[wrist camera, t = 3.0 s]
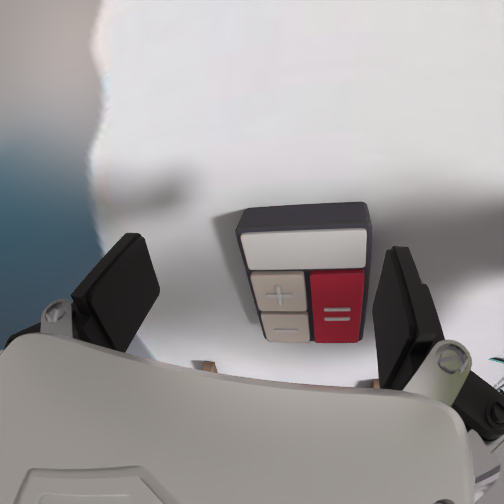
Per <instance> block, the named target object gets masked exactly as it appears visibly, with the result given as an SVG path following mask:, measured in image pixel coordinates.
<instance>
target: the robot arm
mask: <svg viewBox="0 0 504 504" xmlns="http://www.w3.org/2000/svg"><path fill="white" fill-rule="evenodd" d="M159 293H160V287H159V284H158V281H157V277H156V274H155V271H154V268H153V265H152V262H151V259H150V255H149V252H148V249H147V245H146V242H145V239H144V238H143V237H142V236H141V235H140V234H139V233H126V234H125V235H124V236H123V237H122V238H121V239H120V240H119V241H118V242H117V243H116V244H115V245H114V246H113V247H112V248H111V249H110V251H109V252H108V253H107V254H106V255H105V256H104V257H103V258H102V259H101V261H100V262H99V263H98V264H97V265H96V266H95V267H94V268H93V270H92V271H91V272H90V273H89V274H88V275H87V277H86V278H85V279H84V280H83V281H82V282H81V283H80V285H79V286H78V287H77V288H76V289H75V291H74V292H73V293H72V294H71V297H72V299H73V301H74V302H73V303H72V304H71V303H70V302H69V300H66V299H60V300H56V301H54V302H52V303H51V304H50V305H48V306H47V307H46V309H45V310H44V312H43V313H42V317H41V322H40V323H38V324H36V325H33V326H31V327H29V328H27V329H25V330H22V331H20V332H18V333H16V334H13V335H12V336H11V337H10V338H9V339H8V341H7V343H6V345H5V349H4V351H3V350H1V351H0V504H504V395H502V394H501V393H500V392H498V391H497V390H496V389H495V388H493V387H492V386H491V385H489V384H488V383H487V382H485V381H484V380H483V379H482V378H480V377H479V376H478V375H476V374H475V373H474V372H472V371H471V370H470V369H471V366H472V359H471V356H470V353H469V352H468V350H467V349H466V348H465V347H464V346H463V345H462V344H461V343H459V342H456V341H454V340H445V338H444V335H443V331H442V328H441V325H440V321H439V318H438V315H437V312H436V309H435V306H434V303H433V300H432V297H431V294H430V291H429V288H428V286H427V285H426V284H422V283H421V280H420V277H419V274H418V271H417V269H416V266H415V263H414V261H413V258H412V256H411V253H410V251H409V248H408V247H399V246H393V247H392V249H391V250H387V251H386V255H385V260H384V264H383V268H382V273H381V277H380V281H379V285H378V289H377V292H376V296H375V300H374V304H373V321H374V330H375V339H376V349H377V360H378V373H379V387H380V389H376V388H358V387H337V386H323V385H310V384H297V383H287V382H277V381H268V380H260V379H253V378H246V377H239V376H232V375H226V374H220V373H214V372H208V371H203V370H197V369H192V368H187V367H182V366H177V365H173V364H168V363H164V362H159V361H155V360H151V359H147V358H142V357H138V356H134V355H131V354H127V353H125V352H126V350H127V348H128V347H129V345H130V343H131V341H132V340H133V338H134V336H135V334H136V333H137V331H138V329H139V327H140V326H141V324H142V322H143V321H144V319H145V317H146V316H147V314H148V312H149V311H150V309H151V307H152V306H153V304H154V302H155V301H156V299H157V297H158V296H159ZM474 476H475V485H474Z"/></svg>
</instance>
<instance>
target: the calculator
mask: <svg viewBox="0 0 504 504" xmlns="http://www.w3.org/2000/svg"><path fill="white" fill-rule="evenodd" d="M236 236H237V240H238V243H239V247H240V251H241V254H242V258H243V262H244V265H245V269H246V273H247V276H248V280H249V284H250V287H251V291H252V294H253V298H254V302H255V305H256V309H257V313H258V316H259V320H260V323H261V327H262V330H263V334H264V337H265V339H267V340H268V341H270V342H295V343H308V342H310V341H315V342H316V343H356V342H358V341H360V340H361V339H362V337H363V330H364V323H365V315H366V306H367V296H368V285H369V273H370V258H371V239H372V224H371V220H370V216H369V211H368V207H367V204H366V203H364V202H344V203H321V204H302V205H285V206H270V207H256V208H247V209H246V210H245V211H244V213H243V215H242V217H241V220H240V222H239V224H238V226H237V228H236Z"/></svg>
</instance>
